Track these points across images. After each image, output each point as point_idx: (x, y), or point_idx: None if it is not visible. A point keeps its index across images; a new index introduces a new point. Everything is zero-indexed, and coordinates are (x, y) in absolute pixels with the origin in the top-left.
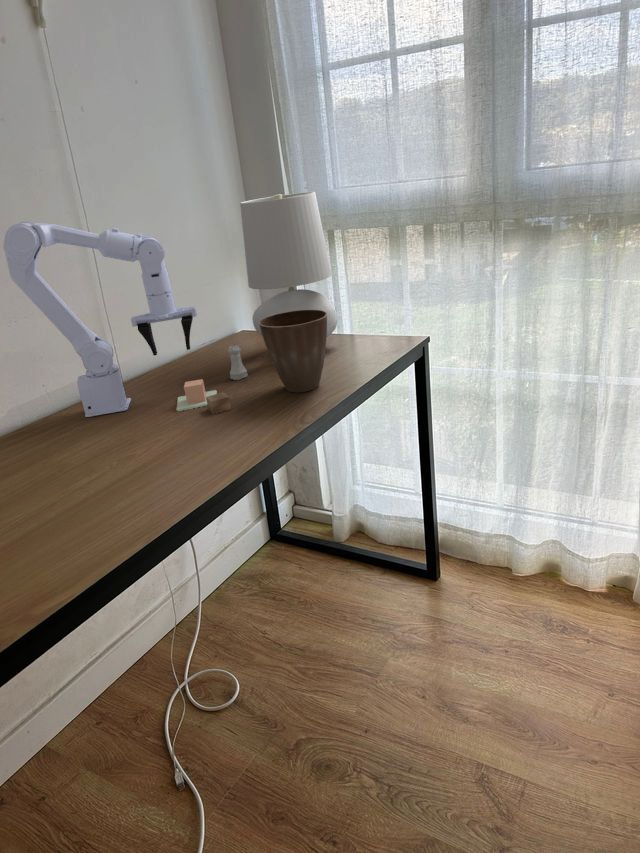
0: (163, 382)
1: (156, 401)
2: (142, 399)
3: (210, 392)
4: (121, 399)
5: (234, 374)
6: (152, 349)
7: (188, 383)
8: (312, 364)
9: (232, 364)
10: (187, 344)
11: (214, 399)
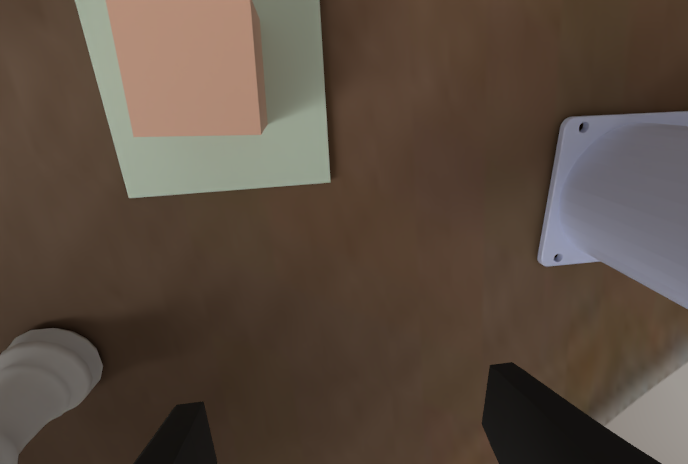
0: (411, 415)
1: (431, 193)
2: (490, 250)
3: (156, 170)
4: (607, 162)
5: (51, 346)
6: (552, 398)
7: (228, 84)
8: None
9: (27, 401)
10: (164, 444)
11: None
